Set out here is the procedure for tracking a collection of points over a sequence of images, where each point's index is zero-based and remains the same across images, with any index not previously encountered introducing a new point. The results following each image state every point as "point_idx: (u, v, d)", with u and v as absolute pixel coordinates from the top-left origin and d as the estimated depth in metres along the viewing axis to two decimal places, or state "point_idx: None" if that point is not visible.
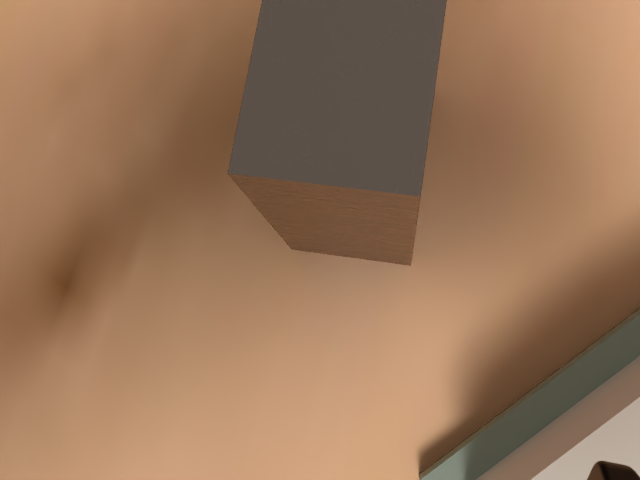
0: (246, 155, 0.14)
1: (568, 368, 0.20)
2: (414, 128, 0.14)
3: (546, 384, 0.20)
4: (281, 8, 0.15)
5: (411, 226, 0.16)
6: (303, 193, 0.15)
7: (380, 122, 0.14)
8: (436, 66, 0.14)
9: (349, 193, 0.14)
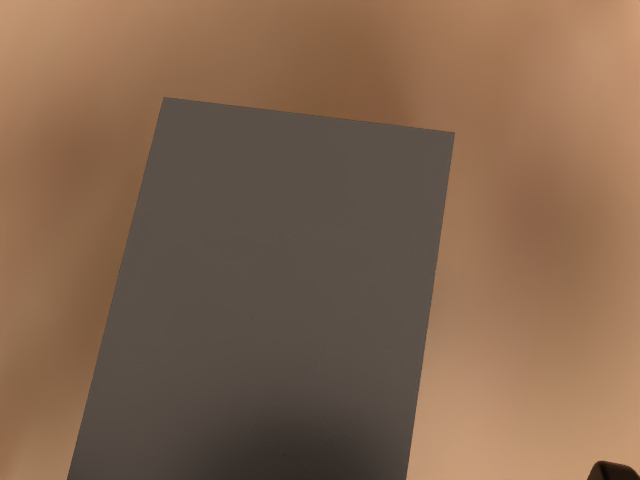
0: None
1: None
2: None
3: None
4: (155, 265, 0.09)
5: None
6: None
7: None
8: (415, 400, 0.08)
9: None
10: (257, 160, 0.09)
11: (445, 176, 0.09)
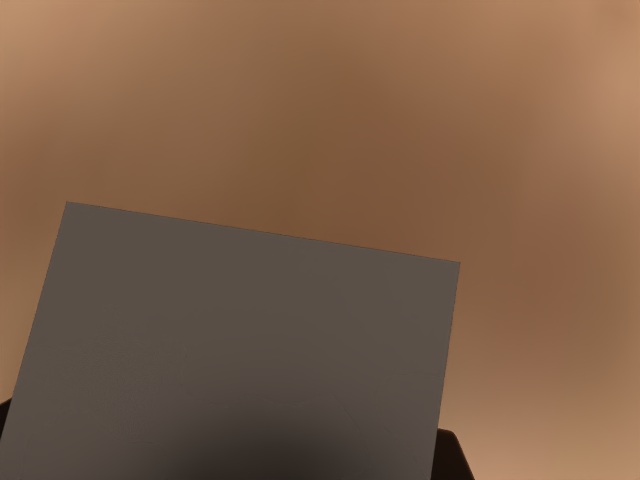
0: None
1: None
2: None
3: None
4: (46, 445, 0.06)
5: None
6: None
7: None
8: None
9: None
10: (189, 297, 0.07)
11: (446, 325, 0.06)
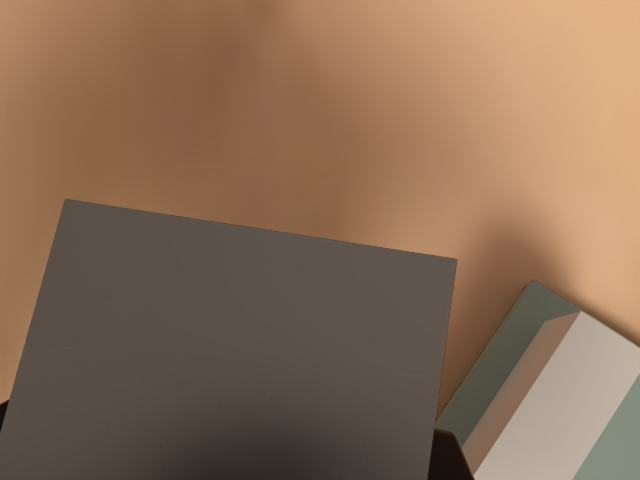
0: None
1: None
2: None
3: None
4: (45, 441, 0.06)
5: None
6: None
7: None
8: None
9: None
10: (187, 293, 0.07)
11: (444, 322, 0.06)
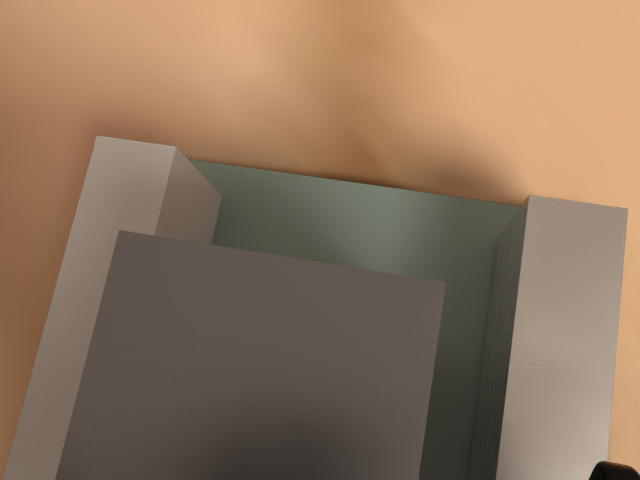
0: None
1: None
2: None
3: None
4: (106, 432, 0.08)
5: None
6: None
7: None
8: None
9: None
10: (222, 310, 0.08)
11: (434, 334, 0.08)
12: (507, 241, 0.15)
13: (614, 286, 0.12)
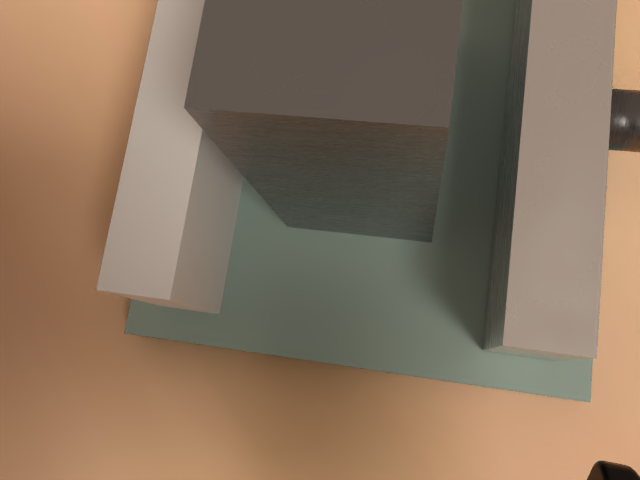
0: (208, 82, 0.10)
1: None
2: (437, 36, 0.10)
3: None
4: None
5: (434, 182, 0.13)
6: (289, 135, 0.11)
7: (391, 29, 0.10)
8: None
9: (350, 129, 0.10)
10: None
11: None
12: None
13: None
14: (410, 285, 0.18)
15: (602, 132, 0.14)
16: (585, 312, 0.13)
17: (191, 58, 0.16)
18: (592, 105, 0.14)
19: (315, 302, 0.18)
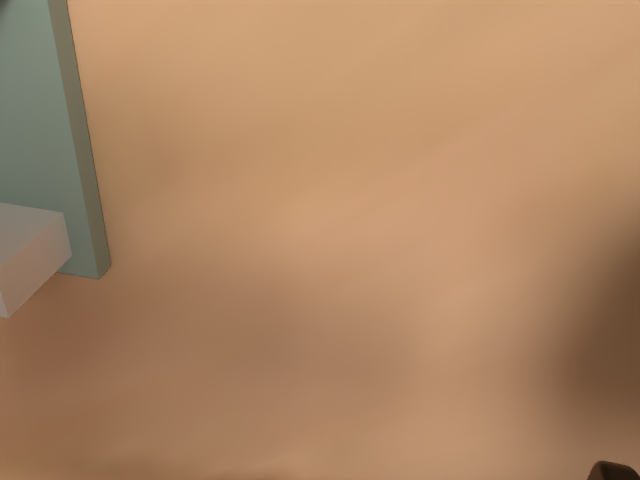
0: None
1: None
2: None
3: None
4: None
5: None
6: None
7: None
8: None
9: None
10: None
11: None
12: None
13: None
14: None
15: None
16: None
17: None
18: None
19: (28, 138, 0.22)
